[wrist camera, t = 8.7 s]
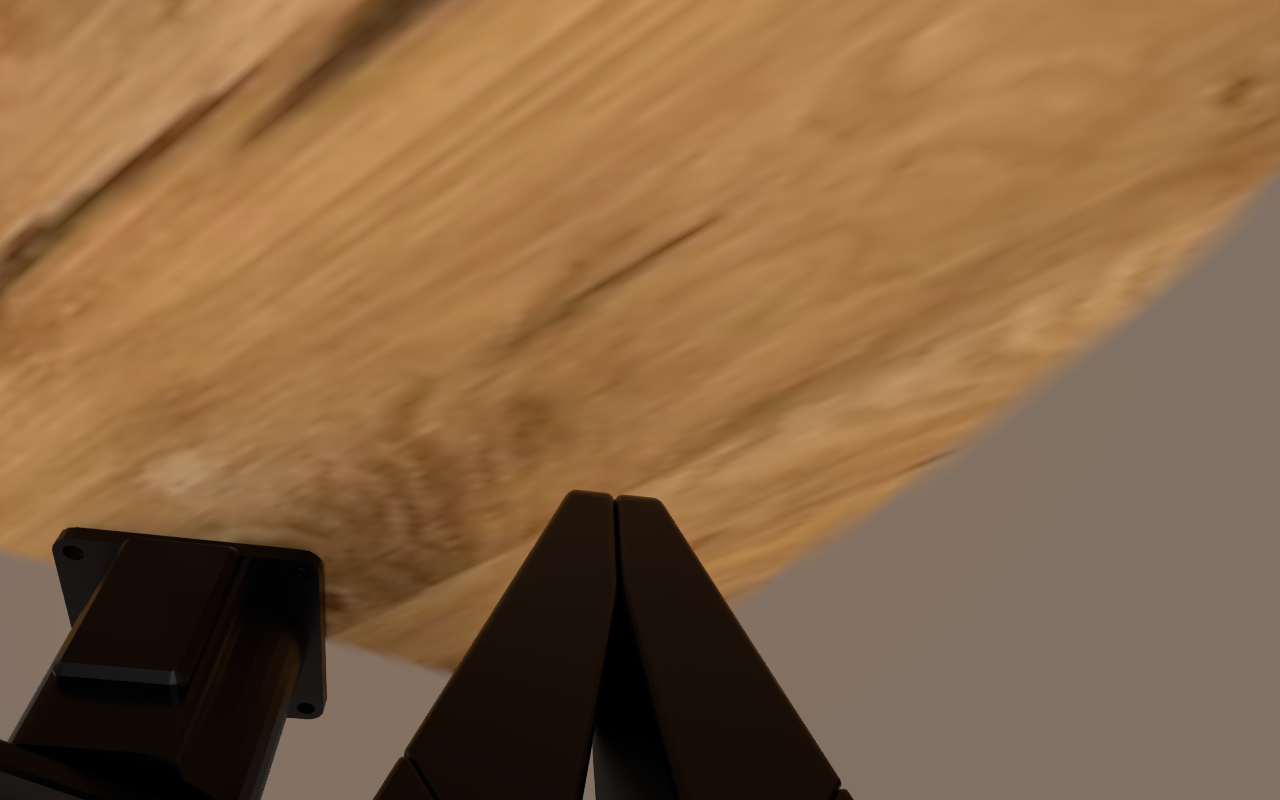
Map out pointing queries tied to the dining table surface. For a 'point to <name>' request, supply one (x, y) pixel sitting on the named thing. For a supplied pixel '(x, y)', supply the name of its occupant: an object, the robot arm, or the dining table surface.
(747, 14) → the dining table surface
